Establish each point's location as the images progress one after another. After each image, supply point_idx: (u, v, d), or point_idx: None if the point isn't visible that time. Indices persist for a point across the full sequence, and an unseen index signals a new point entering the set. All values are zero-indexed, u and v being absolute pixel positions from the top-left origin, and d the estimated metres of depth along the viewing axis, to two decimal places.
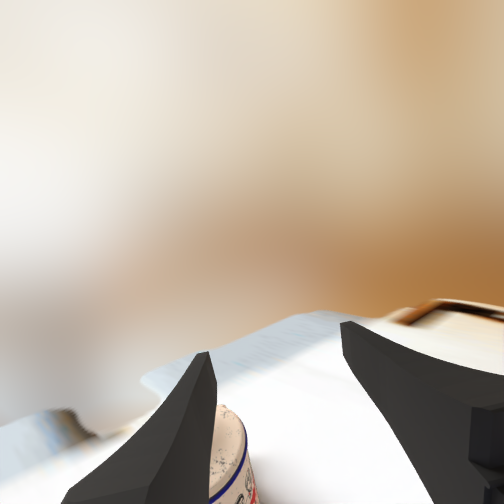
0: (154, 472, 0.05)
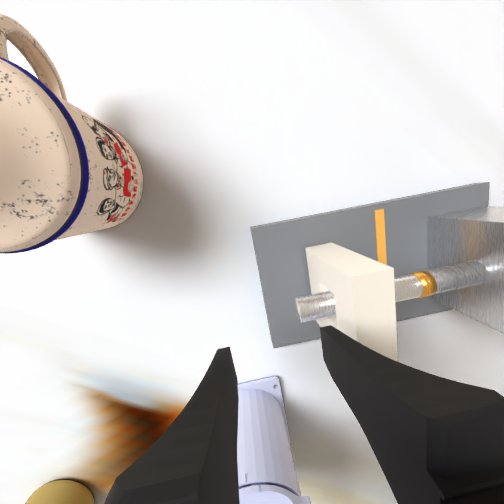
0: (201, 461, 0.05)
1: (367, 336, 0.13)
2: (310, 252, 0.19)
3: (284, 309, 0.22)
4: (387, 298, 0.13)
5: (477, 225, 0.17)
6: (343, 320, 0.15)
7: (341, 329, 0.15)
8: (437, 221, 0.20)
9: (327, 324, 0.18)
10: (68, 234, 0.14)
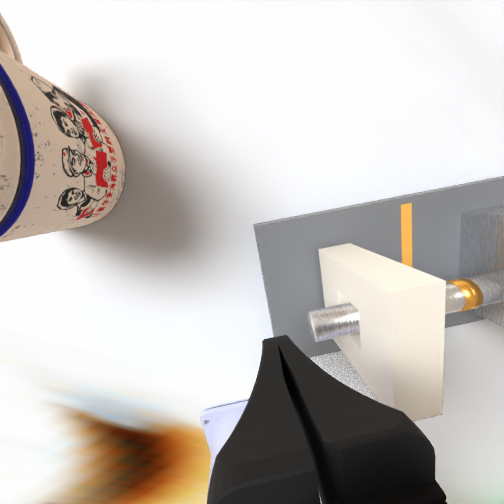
0: (301, 438, 0.05)
1: (405, 367, 0.10)
2: (325, 254, 0.16)
3: (292, 319, 0.19)
4: (435, 319, 0.10)
5: None
6: (371, 343, 0.12)
7: (367, 352, 0.12)
8: (475, 218, 0.17)
9: (345, 341, 0.15)
10: (19, 234, 0.11)
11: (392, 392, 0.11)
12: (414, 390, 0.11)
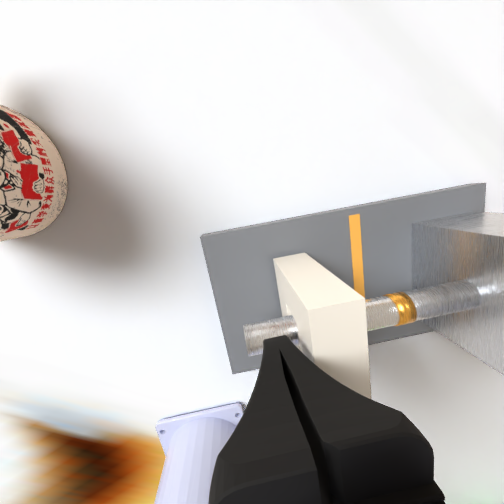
0: (303, 437, 0.05)
1: None
2: (276, 264, 0.16)
3: None
4: (357, 337, 0.10)
5: (468, 237, 0.14)
6: None
7: None
8: (422, 229, 0.17)
9: None
10: None
11: None
12: None
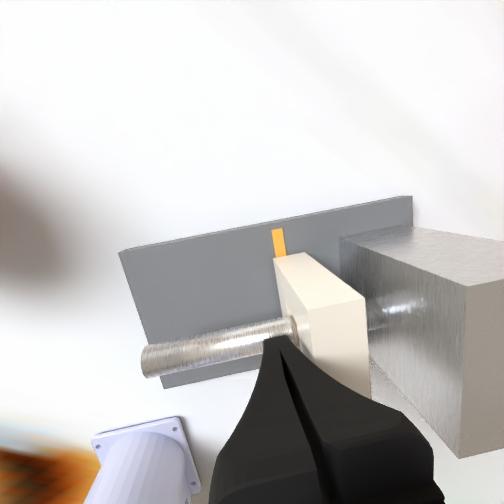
0: (303, 437, 0.05)
1: None
2: (276, 264, 0.16)
3: None
4: (357, 336, 0.10)
5: (372, 255, 0.13)
6: None
7: None
8: (344, 244, 0.17)
9: None
10: None
11: None
12: None
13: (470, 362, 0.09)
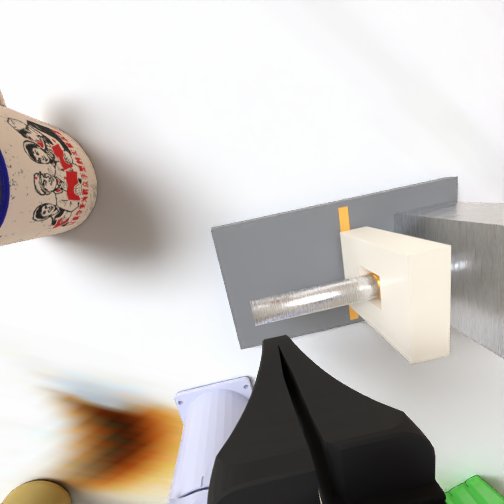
0: (301, 438, 0.05)
1: (420, 315, 0.13)
2: (346, 235, 0.19)
3: (250, 310, 0.22)
4: (443, 276, 0.13)
5: (436, 222, 0.16)
6: (391, 301, 0.15)
7: (387, 311, 0.15)
8: (402, 218, 0.20)
9: (366, 308, 0.18)
10: (3, 242, 0.13)
11: (410, 336, 0.14)
12: (427, 335, 0.14)
13: None
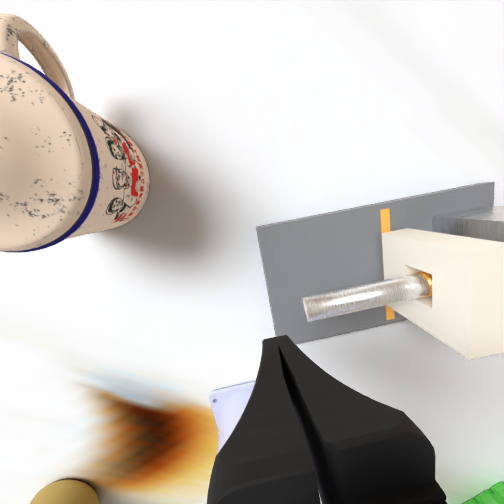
0: (301, 438, 0.05)
1: (480, 312, 0.14)
2: (390, 236, 0.19)
3: (290, 308, 0.22)
4: None
5: (483, 224, 0.17)
6: (446, 298, 0.15)
7: (440, 308, 0.16)
8: (442, 221, 0.20)
9: (411, 306, 0.19)
10: (77, 233, 0.14)
11: (468, 332, 0.14)
12: (485, 331, 0.14)
13: None
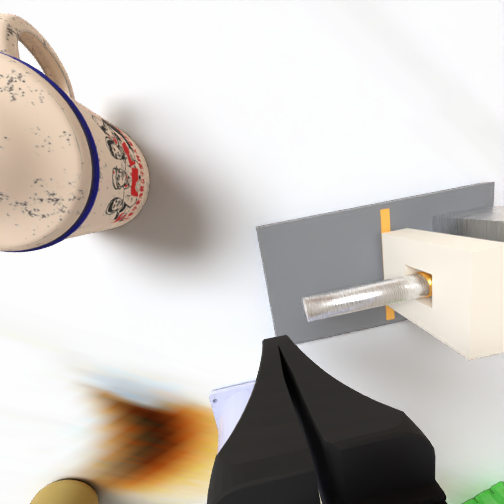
0: (301, 438, 0.05)
1: (480, 312, 0.14)
2: (390, 236, 0.19)
3: (290, 308, 0.22)
4: None
5: (483, 224, 0.17)
6: (446, 298, 0.15)
7: (440, 308, 0.16)
8: (442, 221, 0.20)
9: (411, 306, 0.19)
10: (77, 233, 0.14)
11: (468, 332, 0.14)
12: (485, 331, 0.14)
13: None
